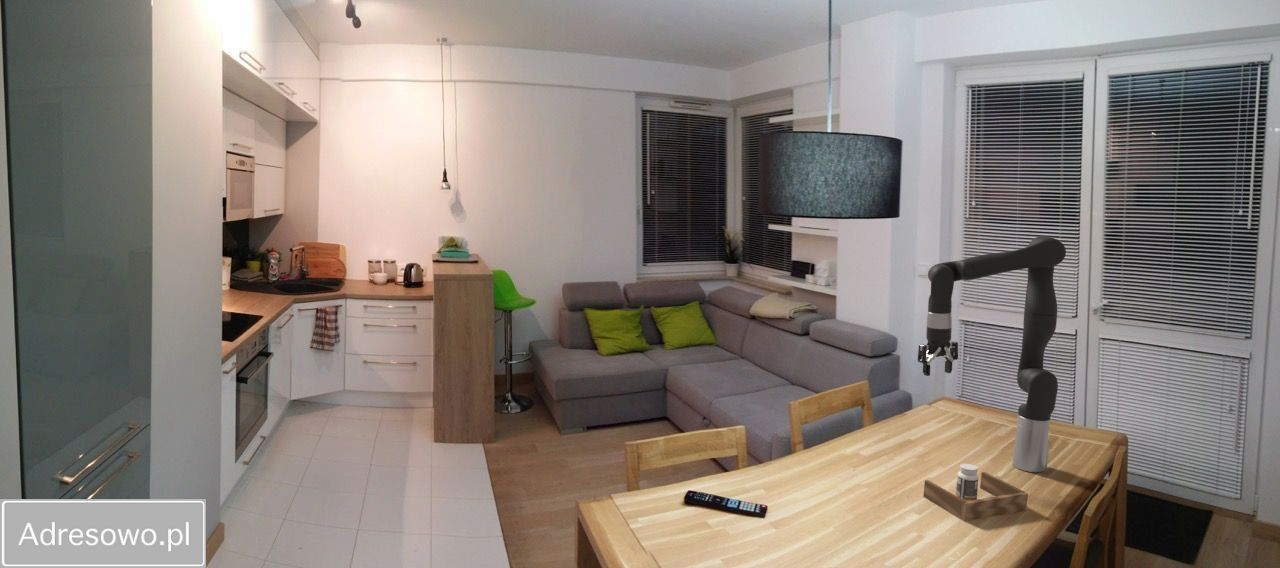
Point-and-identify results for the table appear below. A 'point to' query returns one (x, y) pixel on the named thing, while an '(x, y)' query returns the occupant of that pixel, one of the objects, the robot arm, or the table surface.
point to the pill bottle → (967, 482)
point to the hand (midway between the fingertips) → (937, 374)
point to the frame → (1003, 503)
